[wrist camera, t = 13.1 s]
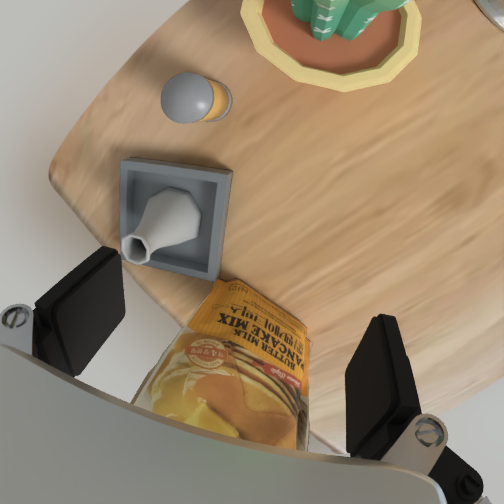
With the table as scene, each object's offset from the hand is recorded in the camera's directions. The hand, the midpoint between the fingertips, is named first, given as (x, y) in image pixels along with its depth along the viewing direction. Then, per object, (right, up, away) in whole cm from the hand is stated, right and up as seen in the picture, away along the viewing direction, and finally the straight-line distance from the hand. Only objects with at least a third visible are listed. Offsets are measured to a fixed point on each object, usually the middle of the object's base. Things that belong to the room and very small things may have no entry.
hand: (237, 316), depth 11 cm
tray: (-9, +7, +26) cm, 28 cm away
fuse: (-4, +19, +20) cm, 27 cm away
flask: (-9, +7, +26) cm, 28 cm away
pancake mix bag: (+2, -6, +31) cm, 31 cm away
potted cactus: (+8, +25, +15) cm, 30 cm away
